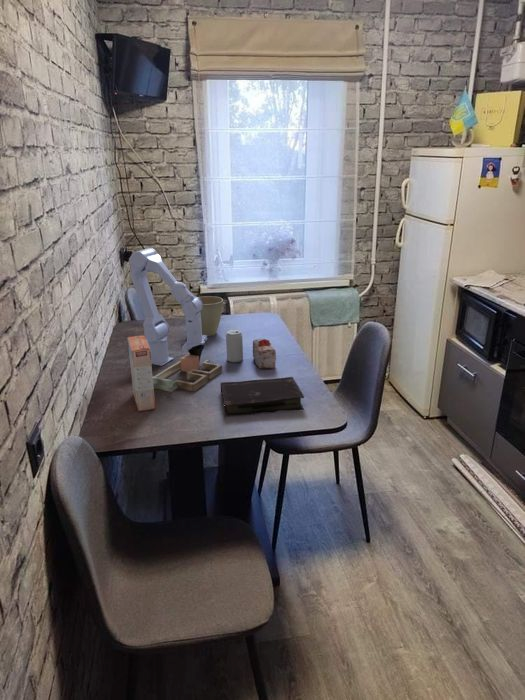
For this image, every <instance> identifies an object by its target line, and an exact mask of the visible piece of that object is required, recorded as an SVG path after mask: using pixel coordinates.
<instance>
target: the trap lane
mask: <svg viewBox="0 0 525 700" xmlns="http://www.w3.org/2000/svg"><path fill="white" fill-rule="evenodd" d="M201 364H202V370H200V369H198V370H196V369H192V370H190V371H189V372H186V380H188V381H186V380H185V381H184V380H180V379H175V380H173V379H172V380H171V379H168V377H170V376H171V375H173V374H174V373H176V372H178V371H179V370H181V361H180V360H178V361H177V362H175V363H174V364H172V365H171V366H169V367H167V368H165V369H164V370H162V371H159V373H157V374H156V375H153V387H154V389H156V390H160V391H165V392H169V393H172V392H174V391H176V390H177V389H180V390H185V391H190V392H196V391H197V390H199V389H200V388H202V387H203V386H204V385H205V384H207V383H208V381H211V380H213V379H214V378H215V377H217V376H218V375H219V374H221V373H222V372H223V366H222V364H218V363H212V362H211V363H210V359H206V360H204V361H203V362H202V363H201ZM190 381H194V382H190Z"/></svg>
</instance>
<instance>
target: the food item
mask: <svg viewBox="0 0 525 700" xmlns="http://www.w3.org/2000/svg"><path fill="white" fill-rule="evenodd" d="M252 357H253V359H254V361H255V362H254V363H255V365H256V366H258V368H259V369H262V370H267V369H270V370H271V369H275V368H276V359H277V351H276V349H275V348H274V346H272V343H271V342H270V340H268V339H265V338H258V339H254V340H252Z"/></svg>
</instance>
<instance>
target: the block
mask: <svg viewBox="0 0 525 700" xmlns="http://www.w3.org/2000/svg"><path fill="white" fill-rule="evenodd" d="M179 361H181V369H180V371H181V372H186V373H187V372H189V371H190V370H192V369H196V370H200V362H199V356H195V355H190V353H187V354H186V355H184V356H182V357H181V358H180V359H179Z"/></svg>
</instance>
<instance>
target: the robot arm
mask: <svg viewBox="0 0 525 700" xmlns="http://www.w3.org/2000/svg"><path fill="white" fill-rule="evenodd" d="M128 262H129V264H130V267H129V269H130V270H129V275H130V278H131V281H132V284H133V287H134V290H135V293H136V296H137V299H138V302H139V305H140V308H141V310H142V313H143V317H144V321H143V324H142V327H143V335H144V336H145V338H146V341H147V343H148V345H149V347H150V353H151V365H156V366H160V367H161V366H164V365H166V364H168V363H169V362H172V360H174V357H172V356H170V357H169V348H168V347H169V345H168V334H169V333H170V325H169V324H168V323H167V322H166V320H165V318H164V317H165V316H163V315H161V314H160V313H159V310H158V308H157V304H156V301H155V299H154V294H153V292H152V290H151V286H150V283H149V280H148V278H147V275H148V273H149V271H150V272H154V273H155V274H157V276H158V277H160V279H161V280H162V281H164V283H165V284H166V285H167V286H168V287H169V293H171V295H172V296H173V298H174V299H175V300H176V301H177V302H178V303H179V305H181V307H182V308H181V312H182V313H183V314H184V317H185V318H184V319H185V327H186V339H187V340H186V342H185V343H184V344H183V346H181V350H182V352H184V353H188V354H190V355H195V356H199V363H200V361H201V356H202V353H203V350H204V348H205V345H204V344H205V342H207V340H208V336H207V335H202V326H201V312H199V311H201V310H202V308H203V303H202V301H201V299H200V298H198V297H199V296H198V297H197V296H195V295H194V294H193V293H192V292H191V291H190V290H189V288H187V284H185V283H183V282H181V281H177V279H176V278H175V277H174V275H173V274H172V272H171V271H170V270H169V268H168V267H167V266H166V265H165V263H164V262H163V260H162V257H161V255H160V254H159V253H158V252H157V250H156V249H154V248H152V247H147V248H145V249H141V250H137V251H134V252H132V254H131V255H130V257H129V258H128Z"/></svg>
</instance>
